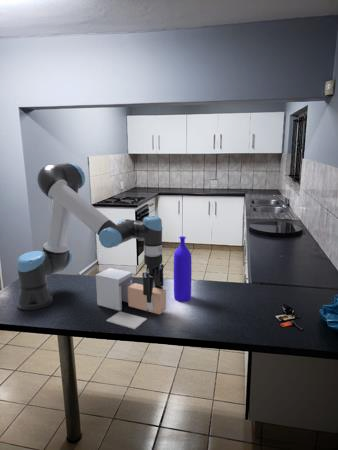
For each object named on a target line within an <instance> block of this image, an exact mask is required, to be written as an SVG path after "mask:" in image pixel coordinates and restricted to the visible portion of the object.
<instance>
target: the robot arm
mask: <svg viewBox="0 0 338 450" xmlns="http://www.w3.org/2000/svg"><path fill="white" fill-rule="evenodd" d="M36 181H37V186H38V187H39V189H40V190H41V192H42V193H43V194H44V195H45V196H46V197H47V198H49V199H50V200H52V207H51V213H50V214H51V215H50V219H49V227H48V235H47V241H46V242H44V244H43V247H42V251H41V250H33V251H28V252H26V253H23V254H21V255H20V256H18V257H17V261H16V262H17V266H16V269H17V275H18V282H19V292H18V293H19V294H18V297H17V302H16V304H17V308H18V309H20V310H22V311H35V310H36V311H37V310H40V309H43V308H45V307H46V308H47V307H48V306H50V305H51V304H52V303H53V301H54V299H53V294H52V292H51V291H50V289H49V286H48V279H47V278H48V277H50V276H52V275H54V274H57V273H58V272H61V271H64V270H65V269H67V268H68V267H69V266H70V265H71V262H72V260H73V259H72V258H73V256H72V253H71V250H70V249H69V245H68V244H67V240H68V234H69V226H70V221H71V215H73V216H74V217H76V218H77V220H79V221H80V222H82V223H83V224H84V225H85V226H87V227H88V228H89V229H90V230H91V231H93V232H94V233H95V234H97V236H98V240H99V242H100V244H101V246H103V248H107V249H110V248H111V249H112V248H114V247H115V248H116V247H118V246H120V245H121V244H123V243H127V242H128V241H130V240H133V239H136V240H143V260H144V261H143V263H144V264H145V266H146V270H145V272H144V271H143V272H142V273H141V275H142V285H143V295H146V296H147V309H151V310H153V295H152V291H153V287H155V288H159V289H164V287H163V286H164V264H162V263H163V223H162V222H163V221H162V218H161V217H159V216H150V215H149V216H145V217H144V218H143V220H134V219H126V218H125V219H120V220H119V221H118V222H117V224H116V223H115V222H113V221H112V220H111V219H109V218H108V217H107V216H106V215H105V214H104V213H102V212H101V211H100V210H99V209H97V208H96V207H95V206H93V205H92V204H91V203H90V202H88V200H86V199H85V198H84V197H83V196H81V195H80V194H78V193H79V190H80V189H81V188H82V187H84V185H85V183H86V175H85V172H84V171H83V169H82V168H81V166H79V165H78V164H77V163H70V162H65V163H57V164H56V163H55V164H47V165H44V166H43V167H42V168H41V169H40V170H39V172H38V174H37V180H36Z"/></svg>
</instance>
